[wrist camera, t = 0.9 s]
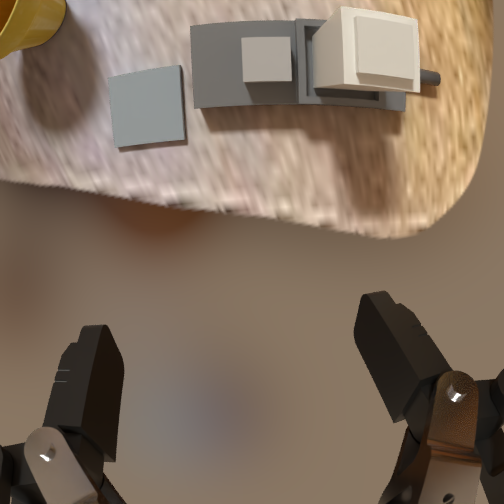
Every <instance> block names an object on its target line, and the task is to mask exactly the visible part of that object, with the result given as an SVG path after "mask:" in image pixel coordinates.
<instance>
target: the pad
mask: <svg viewBox="0 0 504 504" xmlns="http://www.w3.org/2000/svg"><path fill="white" fill-rule="evenodd" d="M108 84H109V97H110V109H111V119H112V129H113V138H114V146H115V148H117V147H123V146H131V145H138V144H146V143H155V142H164V141H174V140H184V139H186V136H185V124H184V110H183V95H182V78H181V65H176V66H169V67H162V68H156V69H150V70H144V71H139V72H133V73H128V74H123V75H119V76H114V77H110V78H108Z"/></svg>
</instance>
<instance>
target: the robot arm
mask: <svg viewBox="0 0 504 504" xmlns="http://www.w3.org/2000/svg"><path fill="white" fill-rule="evenodd" d="M354 339H355V343H356V345H357V348H358V349H359V352H360V354H361V356H362V358H363V360H364V362H365V364H366V365H367V368H368V370H369V372H370V374H371V376H372V378H373V380H374V382H375V384H376V386H377V388H378V390H379V393H380V395H381V397H382V399H383V401H384V403H385V405H386V407H387V409H388V412H389V414H390V416H391V418H392V420H393V423H396V422H399V421H402V420H404V419H406V421H407V424H408V426H407V428H406V431H405V435H404V438H403V442H402V445H401V449H400V452H399V456H398V459H397V462H396V466H395V468H394V471H393V474H392V477H391V479H390V481H389V483H388V485H387V486H386V488H385V490H384V491H383V493H382V496H381V497H380V500H379V502H378V504H475V499H476V495H477V489H478V484H479V479H480V481H481V483H482V486H483V488H484V491H485V494H486V497H487V499H488V502H489V504H504V432H503V430H502V428H501V427H502V426H503V425H504V369H503V370H502V371H501V372H500V374H499V375H498V376H497V378H496V379H490V380H478V381H474V380H473V378H472V377H470V376H469V375H468V374H466V373H464V372H461V371H453V370H452V368H451V367H450V366H449V364H448V363H447V361H446V359H445V358H444V356H443V355H442V353H441V352H440V351H439V349H438V348H437V346H436V345H435V343H434V342H433V340H432V339H431V337H430V336H429V335H427V331H426V330H425V329H424V327H423V326H421V323H420V321H419V320H418V319H417V317H416V316H415V314H414V313H413V312H412V311H410V310H409V309H407V308H406V307H405V306H404V305H402V304H401V303H399V304H395V302H394V301H393V299H392V298H391V297H390V295H389V294H388V292H386V291H379V292H373V293H368V294H363V295H362V297H361V300H360V305H359V309H358V313H357V318H356V322H355V326H354ZM123 380H124V363H123V358H122V356H121V353H120V351H119V349H118V347H117V345H116V343H115V340H114V338H113V336H112V334H111V331H110V329H109V327H108V326H107V325H89V326H84V327H83V328H82V330H81V332H80V336H79V339H78V342H77V343H71V344H70V345H69V346H68V348H67V349H66V350H65V352H64V353H63V354H62V356H61V360H60V363H59V366H58V372H57V373H56V376H55V383H54V384H53V387H52V391H51V395H50V398H49V402H48V406H47V410H46V415H45V419H44V423H43V426H42V427H41V428H38V429H36V430H34V431H33V432H32V433H31V434H30V435H29V436H28V438H27V440H26V442H24V443H20V444H15V445H10V446H5V447H2V446H1V445H0V504H10V496H11V497H12V502H11V504H127V503H126V502H125V501H124V499H123V498H122V497H121V496H120V495H119V493H118V492H117V490H116V489H115V488H114V486H113V485H112V483H111V482H110V481H109V479H108V478H107V476H106V475H105V474H104V472H103V465H104V462H115V461H116V448H117V435H118V424H119V414H120V405H121V396H122V388H123Z"/></svg>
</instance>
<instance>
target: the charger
mask: <svg viewBox="0 0 504 504" xmlns="http://www.w3.org/2000/svg"><path fill="white" fill-rule="evenodd" d="M312 54H313V88H328V89H345V90H358V91H393V92H417V93H420V56H419V36H418V22H417V19H414V18H409V17H405V16H400V15H395V14H390V13H385V12H379V11H373V10H367V9H360V8H352V7H343V6H340V7H339V8H338V9H337V10H336V11H335V12H334V14H333V15H332V16H331V17H330V18H329V19H328V20H327V21H326V22H325V23H324V24H323V25H322V26H321V27H320V28H319V30H318V31H317V32H316V33H315V34H314V35H313V36H312Z"/></svg>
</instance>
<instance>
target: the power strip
mask: <svg viewBox="0 0 504 504" xmlns="http://www.w3.org/2000/svg"><path fill="white" fill-rule="evenodd" d="M326 21H327V20H317V19H296V20H295V21H280V20H274V21H240V22H225V23H213V24H204V25H195V26H190V35H191V59H192V79H193V96H194V109H197V108H209V107H223V106H241V105H275V104H300V105H333V106H351V107H365V108H376V109H386V110H396V111H404V112H405V102H406V92H393V91H358V90H345V89H328V88H313V54H312V36H313V35H314V34H315V33H316V32H317V31H318V30H319V28H320V27H321V26H322V25H323V24H324V23H325V22H326ZM440 80H441V78H440V74H439V73H438V72H433V71H429V70H424V69H420V83H424V84H429V85H434V86H438V85H439V84H440Z"/></svg>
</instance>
